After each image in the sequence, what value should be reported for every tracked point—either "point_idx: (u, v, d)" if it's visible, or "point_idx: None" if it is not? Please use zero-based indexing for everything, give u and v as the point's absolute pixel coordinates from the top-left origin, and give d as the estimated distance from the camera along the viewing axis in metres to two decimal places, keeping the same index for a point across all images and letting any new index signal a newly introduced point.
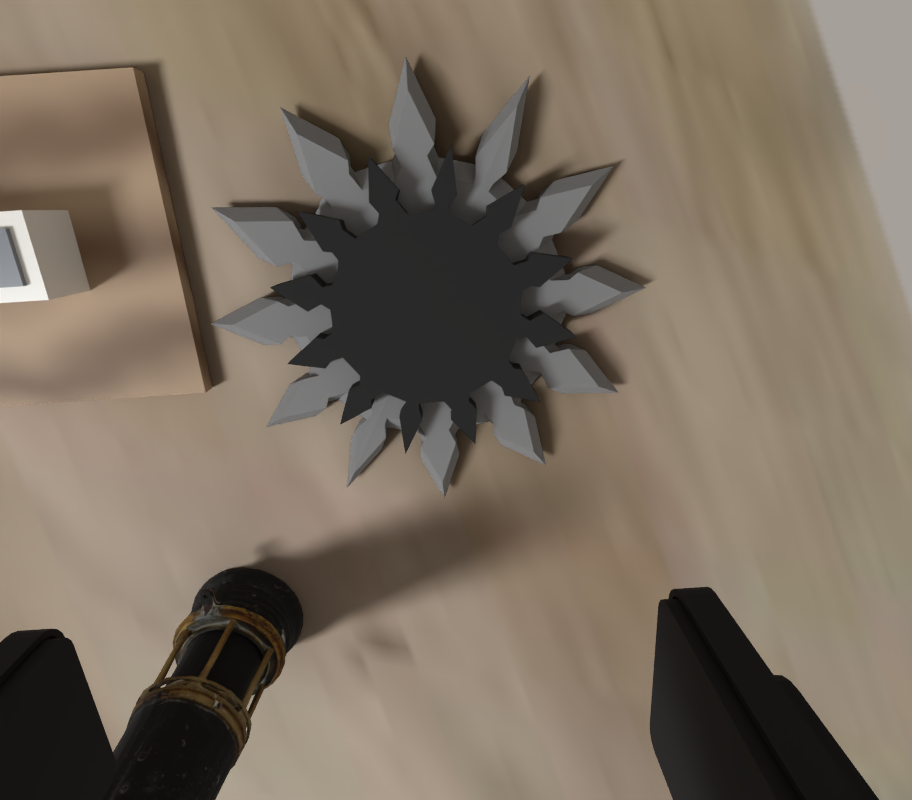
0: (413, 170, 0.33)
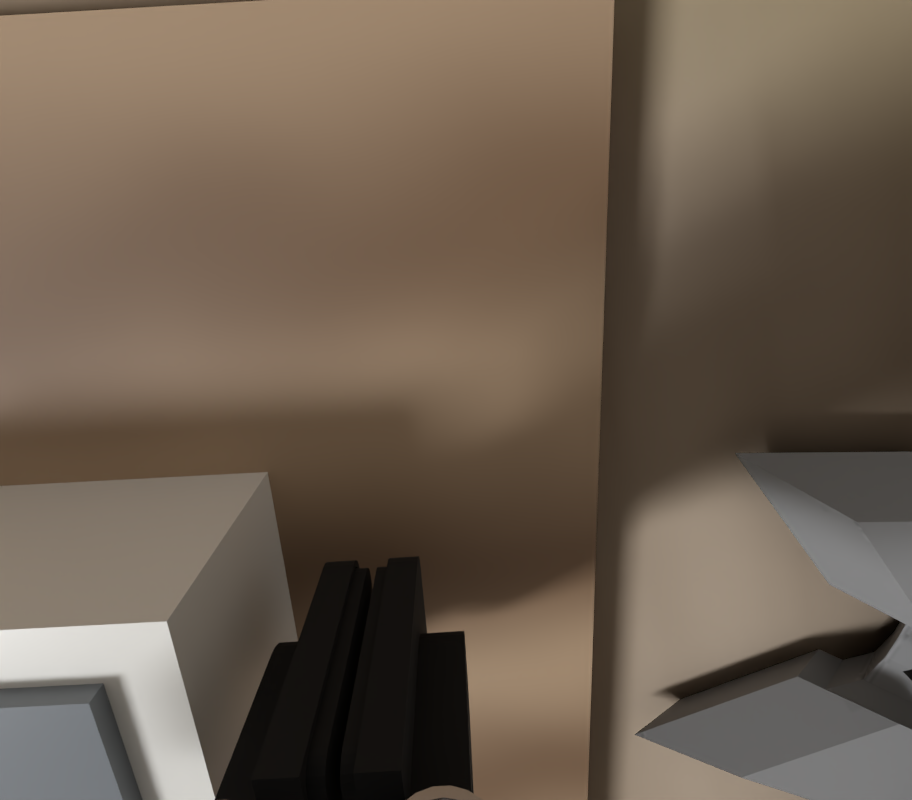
0: None
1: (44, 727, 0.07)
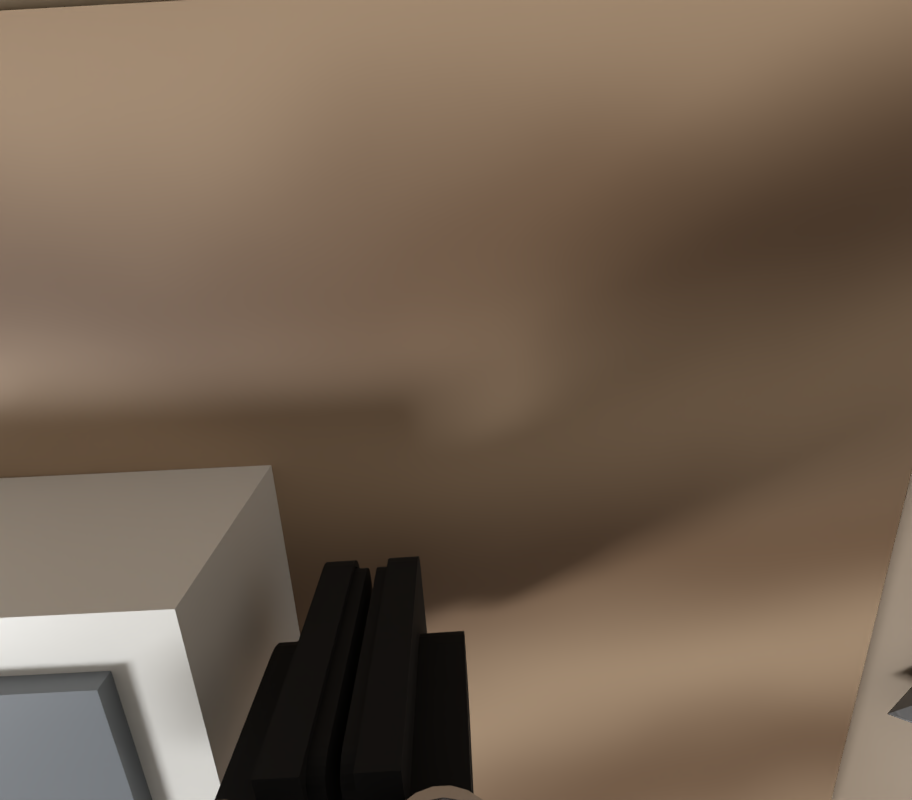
0: None
1: (52, 714, 0.07)
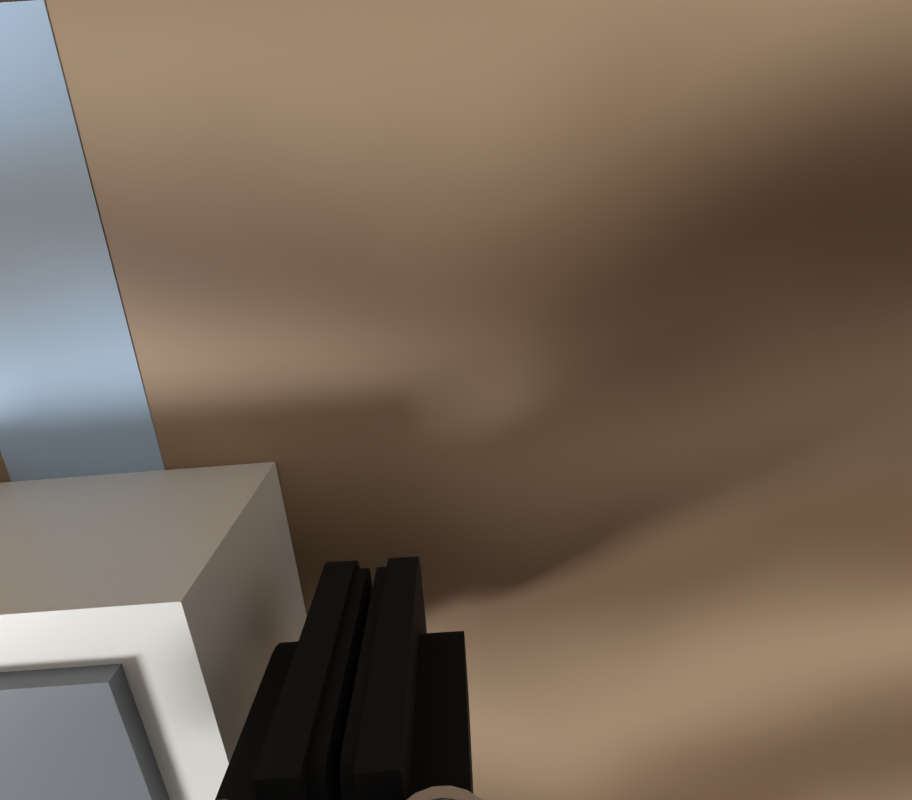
0: None
1: (66, 706, 0.07)
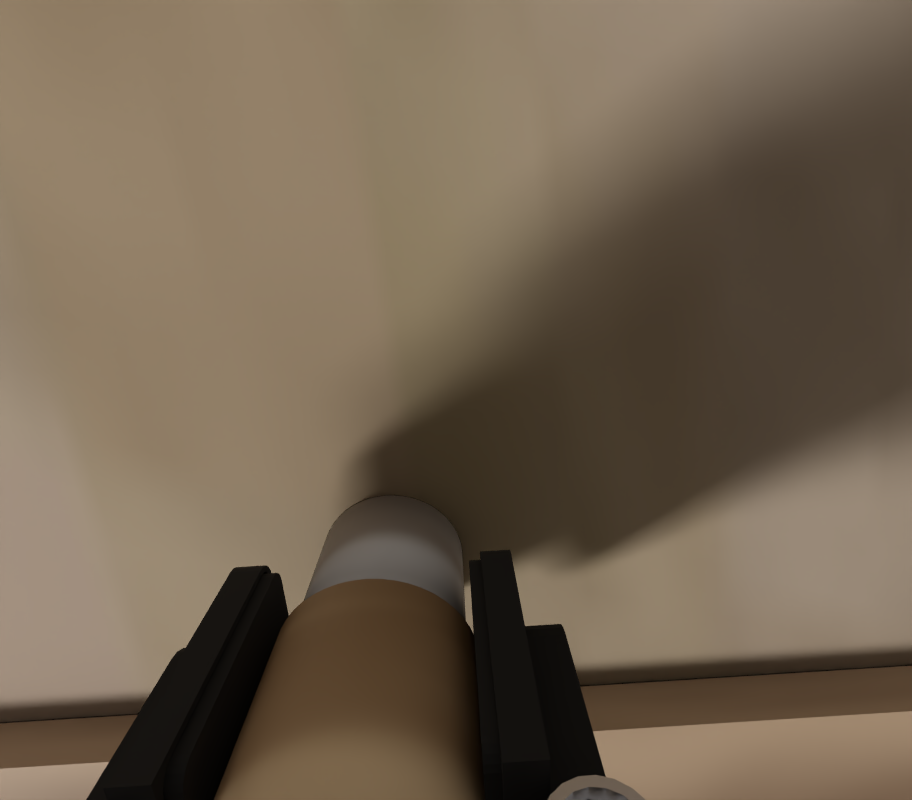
0: None
1: None
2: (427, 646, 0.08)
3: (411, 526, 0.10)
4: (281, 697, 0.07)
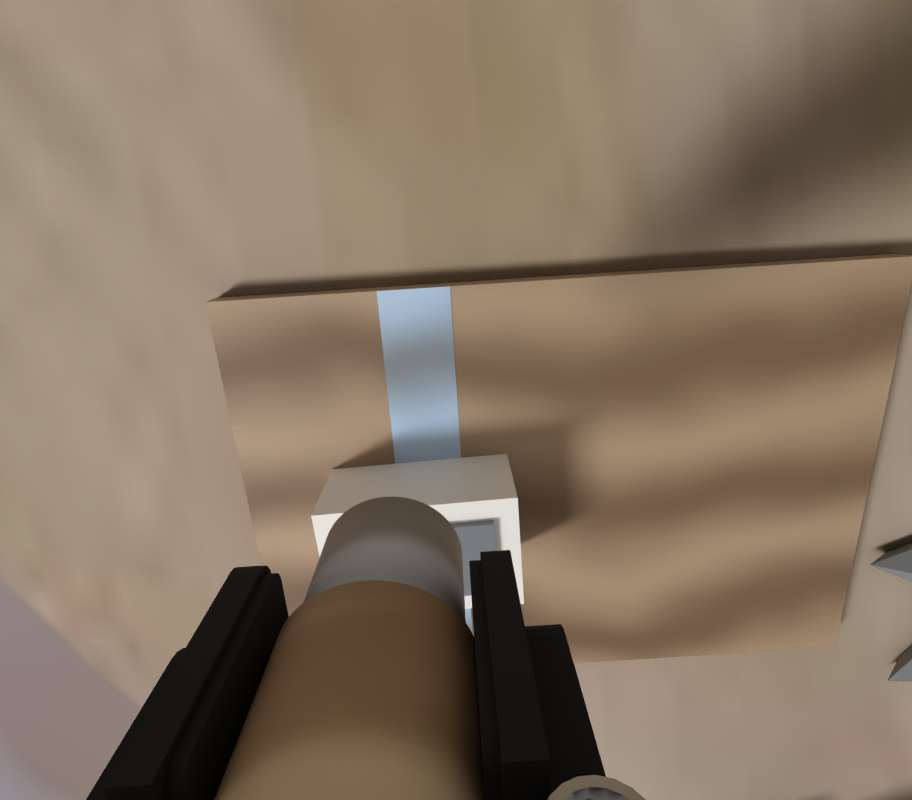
0: None
1: (477, 533, 0.21)
2: (427, 648, 0.08)
3: (410, 527, 0.10)
4: (281, 699, 0.07)
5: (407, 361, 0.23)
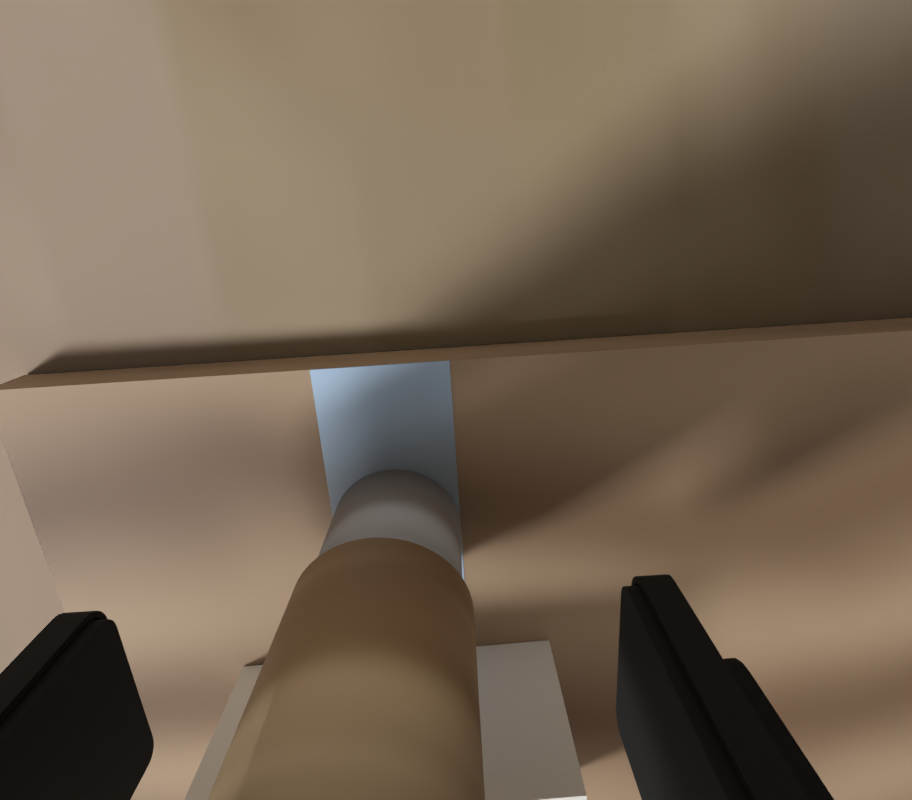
0: None
1: None
2: (426, 593, 0.09)
3: (413, 496, 0.12)
4: (299, 630, 0.08)
5: None
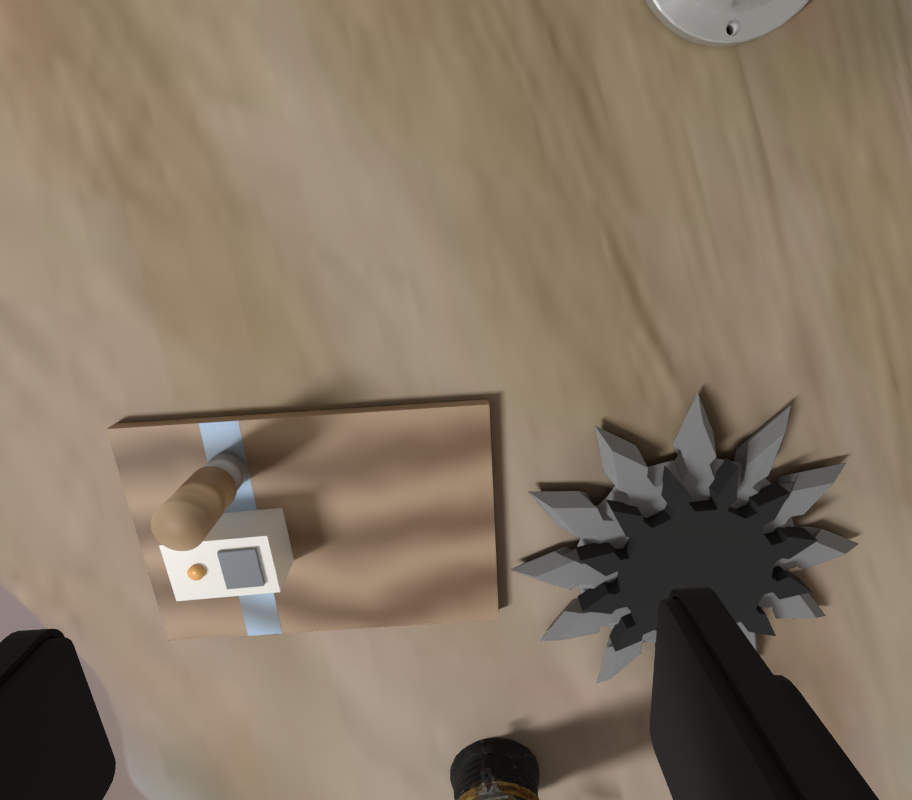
0: (697, 474, 0.43)
1: (247, 554, 0.40)
2: (216, 476, 0.38)
3: (227, 458, 0.41)
4: (185, 481, 0.38)
5: None
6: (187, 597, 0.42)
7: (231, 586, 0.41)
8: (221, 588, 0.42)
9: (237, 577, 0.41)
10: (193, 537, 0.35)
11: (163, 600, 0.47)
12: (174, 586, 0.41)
